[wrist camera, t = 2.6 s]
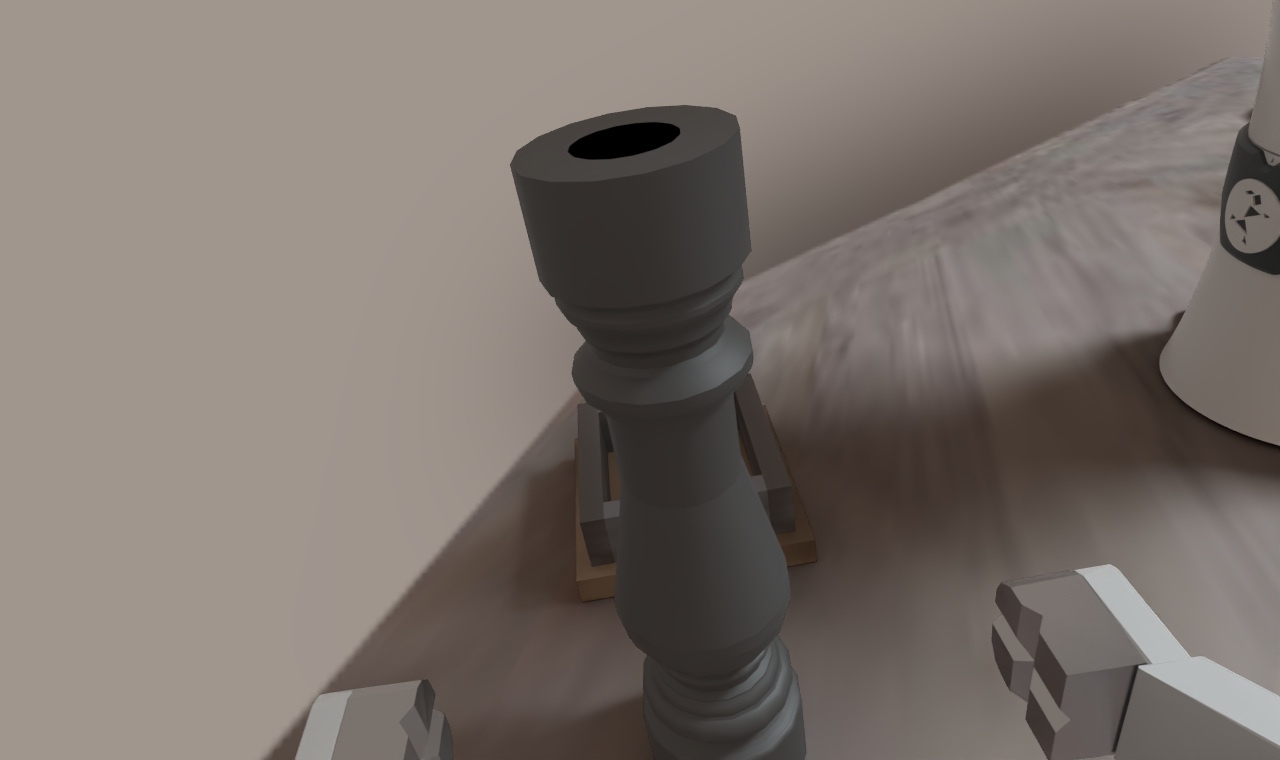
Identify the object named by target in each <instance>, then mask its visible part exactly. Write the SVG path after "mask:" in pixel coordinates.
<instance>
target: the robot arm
mask: <svg viewBox="0 0 1280 760" xmlns="http://www.w3.org/2000/svg"><path fill="white" fill-rule="evenodd" d="M1159 365H1160V371H1161V374H1162V376H1163V378H1164V380H1165V382H1166V383H1167V385H1168V386H1169V387H1170V389H1171V390H1172V391H1173V392H1174V393H1175V394H1176V395H1177V396H1178V397H1179V398H1180V399H1181V400H1183V401H1184V402H1185V403H1186V404H1188V405H1189V406H1190V407H1192V408H1193V409H1195V410H1196V411H1198V412H1199V413H1201V414H1203V415H1204V416H1206V417H1208V418H1210V419H1211V420H1213V421H1215V422H1217V423H1219V424H1221V425H1223V426H1226V427H1228V428H1230V429H1232V430H1235V431H1237V432H1240V433H1242V434H1245V435H1247V436H1250V437H1253V438H1256V439H1259V440H1262V441H1265V442H1268V443H1272V444H1275V445H1279V446H1280V0H1273V3H1272V10H1271V18H1270V25H1269V31H1268V37H1267V44H1266V50H1265V56H1264V61H1263V66H1262V71H1261V76H1260V81H1259V86H1258V91H1257V95H1256V100H1255V104H1254V108H1253V112H1252V116H1251V121H1250V122H1249V123H1248V124H1246V125H1245V126H1244V127H1242V128H1241V130H1240V131H1239V133H1238V135H1237V138H1236V142H1235V146H1234V149H1233V153H1232V156H1231V160H1230V163H1229V167H1228V171H1227V175H1226V179H1225V183H1224V187H1223V191H1222V204H1221V216H1220V231H1219V233H1218V236H1217V238H1216V241H1215V243H1214V245H1213V248H1212V250H1211V253H1210V255H1209V258H1208V260H1207V263H1206V265H1205V268H1204V270H1203V273H1202V275H1201V278H1200V280H1199V283H1198V285H1197V287H1196V290H1195V292H1194V294H1193V296H1192V298H1191V300H1190V302H1189V305H1188V307H1187V309H1186V311H1185V313H1184V315H1183V317H1182V319H1181V321H1180V322H1179V324H1178V326H1177V328H1176V329H1175V331H1174V333H1173V335H1172V336H1171V338H1170V339H1169V341H1168V342H1167V344H1166V345H1165V347H1164V349H1163V350H1162V352H1161V355H1160V360H1159ZM995 602H996V604H997V606H998V607H999V609H1000V611H1001V612H1002V614H1001V615H1000V616H999V617H998V618H997V619H996V621H995V622H994V623H993V626H992V645H993V650H994V655H995V660H996V662H997V665H998V668H999V670H1000V673H1001V675H1002V677H1003V679H1004V681H1005V683H1006V685H1007V686H1008V688H1009V690H1010V691H1011V692H1013V693H1014V694H1016V695H1017V696H1019V697H1020V698H1022V699H1023V700H1025V701H1026V702H1028V705H1027V712H1026V721H1027V723H1028V725H1029V727H1030V728H1031V730H1032V732H1033V734H1034V735H1035V737H1036V739H1037V741H1038V743H1039V744H1040V746H1041V748H1042V750H1043V752H1044V753H1045V755H1046V757H1047V759H1048V760H1078V759H1086V758H1093V757H1101V756H1108V755H1115V756H1114V758H1115V759H1116V760H1280V696H1278V695H1276V694H1274V693H1272V692H1270V691H1268V690H1266V689H1265V688H1263V687H1261V686H1259V685H1257V684H1255V683H1253V682H1251V681H1249V680H1247V679H1245V678H1244V677H1242V676H1240V675H1238V674H1236V673H1234V672H1232V671H1230V670H1228V669H1226V668H1224V667H1222V666H1221V665H1219V664H1217V663H1215V662H1213V661H1211V660H1209V659H1207V658H1205V657H1203V656H1198V657H1190V656H1189V654H1188V653H1187V652H1186V651H1185V650H1184V648H1183V647H1182V646H1181V645H1180V644H1179V642H1178V641H1177V640H1176V639H1175V637H1174V636H1173V635H1172V634H1171V633H1170V631H1169V630H1168V629H1167V628H1166V626H1165V625H1164V624H1163V623H1162V622H1161V620H1160V619H1159V618H1158V617H1157V616H1156V614H1155V613H1154V612H1153V611H1152V609H1151V608H1150V607H1149V606H1148V605H1147V603H1146V602H1145V601H1144V600H1143V598H1142V597H1141V596H1140V595H1139V594H1138V592H1137V591H1136V590H1135V589H1134V588H1133V586H1132V585H1131V584H1130V583H1129V581H1128V580H1127V579H1126V578H1125V577H1124V575H1123V574H1122V573H1121V572H1120V571H1119V569H1117V568H1116V567H1114V566H1112V565H1111V564H1108V565H1102V566H1096V567H1090V568H1084V569H1078V570H1073V571H1069V570H1068V571H1062V572H1057V573H1051V574H1046V575H1040V576H1034V577H1029V578H1023V579H1018V580H1012V581H1007V582H1001V584H1000V585H999V586H998V588H997V592H996V599H995ZM434 700H435V692H434V690H433V688H432V687H431V685H430V683H429V681H428V680H417V681H409V682H402V683H395V684H388V685H380V686H373V687H366V688H359V689H353V690H346V691H340V692H333V693H327V694H320V695H319V697H318V698H317V699H316V701H315V702H314V704H313V705H312V707H311V710H310V713H309V716H308V719H307V722H306V725H305V728H304V732H303V735H302V738H301V741H300V744H299V747H298V750H297V753H296V757H295V760H453V740H452V735H451V731H450V727H449V724H448V721H447V719H446V717H445V714H444V713H442V712H440V711H438V710H436V709H434V708H433V706H434Z"/></svg>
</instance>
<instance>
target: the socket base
mask: <svg viewBox="0 0 1280 760" xmlns="http://www.w3.org/2000/svg"><path fill="white" fill-rule="evenodd" d="M733 395H734V403H735V412H736V420H737V428H738V436H739V444H740V453H741V456H742V458H743V460H744V463H745V465H746V467H747V470H748V472H749V474H750V477H751V479H752V481H753V484H754V486H755V488H756V491H757V493H758V495H759V498H760V500H761V502H762V505H763V507H764V509H765V512H766V514H767V516H768V519H769V521H770V523H771V526H772V528H773V530H774V532H775V535H776V537H777V539H778V541H779V544H780V546H781V548H782V551H783V553H784V555H785V558H786V563H787V566H793V565H799V564H805V563H810V562H816V561H817V558H816V543H815V538H814V535H813V532H812V530H811V527H810V524H809V521H808V519H807V516H806V513H805V511H804V508H803V505H802V503H801V500H800V497H799V495H798V492H797V489H796V487H795V484H794V481H793V479H792V476H791V473H790V471H789V468H788V465H787V463H786V460H785V457H784V455H783V452H782V449H781V447H780V444H779V441H778V439H777V436H776V433H775V431H774V428H773V425H772V423H771V420H770V417H769V415H768V412H767V409H766V406H765V405H763V406H762V404H761V401H760V398H759V396H758V393H757V390H756V387H755V385H754V382H753V379H752V377H751V374H747V376H746V378H745V380H744V381H743V383H742V385H741V386H740V387H739V388H738V389H736V390H735V392H734V393H733ZM620 493H621V479H620V475H619V470H618V466H617V461H616V457H615V453H614V448H613V444H612V440H611V435H610V431H609V426H608V422H607V418H606V416H605V414H604V413H603V412H602V411H600V410H598V409H596V408H594V407H592V406H590V405H588V404H587V403H584V404H578V439H575V513H576V582H577V586H578V589H579V593H580V596H581V599H582V602H585V601H591V600H597V599H603V598H608V597H614V596H615V580H616V563H617V548H618V530H619V511H620Z"/></svg>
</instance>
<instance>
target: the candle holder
mask: <svg viewBox="0 0 1280 760" xmlns="http://www.w3.org/2000/svg"><path fill="white" fill-rule="evenodd" d="M510 166H511V170H512V174H513V178H514V182H515V186H516V190H517V194H518V198H519V201H520V206H521V210H522V214H523V218H524V221H525V225H526V229H527V233H528V237H529V241H530V245H531V249H532V253H533V257H534V261H535V265H536V268H537V272H538V277H539V280H540V282H541V283H542V285H543V286H544V287H545V289H546V290H547V291H548V293H549V294H550V295H551V296H552V297H555V302H556V305H557V306H558V307H559V309H560V310H561V312H562V313H563V314H564V316H565V317H566V318H567V320H568V321H569V322H570V323H571V324H573V325H574V326H576V327H577V329H578V331H579V332H580V333H581V335H582V336H583V337H584V339H585V340H586V341H585V343H584V344H583V345H582V346H581V347H580V348H579V350H578V351H577V352H576V353H575V356H574V361H573V368H572V377H573V381H574V383H575V385H576V387H577V388H578V390H579V391H580V393H581V394H582V396H583V397H584V399H585V401H586V402H587V404H588V405H590V406H592V407H594V408H596V409H598V410H600V411H602V412H603V413H604V414H605V416H606V418H607V422H608V426H609V431H610V435H611V440H612V444H613V448H614V453H615V457H616V461H617V466H618V470H619V475H620V479H621V493H620V511H619V530H618V548H617V563H616V580H615V596H614V602H615V605H616V609H617V613H618V615H619V617H620V619H621V621H622V623H623V625H624V627H625V629H626V631H627V633H628V635H629V637H630V639H631V640H632V641H633V643H634V644H635V645H636V647H638V648H639V649H640V650H642V651H643V652H644V653H646V654H647V657H646V659H645V661H644V673H643V691H644V697H643V716H644V720H645V724H646V728H647V732H648V736H649V739H650V743H651V747H652V751H653V755H654V759H655V760H804V759H805V755H806V744H805V733H804V721H803V710H802V700H801V695H800V689H799V683H798V677H797V674H796V672H795V671H794V669H793V668H792V666H791V663H790V656H789V651H788V649H787V648H786V646H785V645H784V644H783V642H782V641H781V639H780V638H779V636H778V633H779V631H780V629H781V626H782V623H783V620H784V617H785V614H786V611H787V608H788V605H789V602H790V598H791V587H790V580H789V574H788V569H787V563H786V558H785V555H784V553H783V551H782V548H781V546H780V544H779V541H778V539H777V537H776V535H775V532H774V530H773V528H772V526H771V523H770V521H769V519H768V516H767V514H766V512H765V509H764V507H763V505H762V502H761V500H760V498H759V495H758V493H757V491H756V488H755V486H754V484H753V481H752V479H751V477H750V474H749V472H748V470H747V467H746V465H745V463H744V460H743V458H742V456H741V453H740V444H739V436H738V428H737V420H736V412H735V403H734V395H733V393H734V392H735V390H736V389H738V388H739V387H740V386H741V385H742V383H743V381H744V380H745V378H746V376H747V374H748V372H749V370H750V369H751V367H752V364H753V349H752V344H751V339H750V334H749V331H748V330H747V329H746V328H745V327H743V326H742V325H741V324H740V323H739V322H737V321H736V320H735V319H734V318H733V317H731V316H730V315H728V314H729V313H730V311H731V309H732V299H733V296H734V294H735V293H736V291H737V290H738V288H739V287H740V285H741V283H742V281H743V279H744V277H743V270H742V264H743V262H744V261H745V259H746V258H747V256H748V255H749V253H750V252H751V240H750V230H749V221H748V220H749V219H748V209H747V198H746V188H745V178H744V167H743V157H742V146H741V136H740V127H739V124H738V121H737V118H736V116H735V115H733V114H730V113H728V112H725V111H723V110H720V109H718V108H711V107H700V106H688V105H680V106H662V107H646V108H641V109H634V110H628V111H623V112H617V113H610V114H605V115H602V116H598V117H594V118H590V119H587V120H583V121H579V122H575V123H572V124H569V125H566V126H564V127H561V128H559V129H556V130H554V131H551V132H549V133H546V134H544V135H541V136H539V137H537V138H536V139H534V140H533V141H531V142H529V143H528V144H526V145H525V146H523V147H522V148H521V149H519V150H517V152H516V154H515V156H514V158H513V160H512V162H511V164H510Z"/></svg>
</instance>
